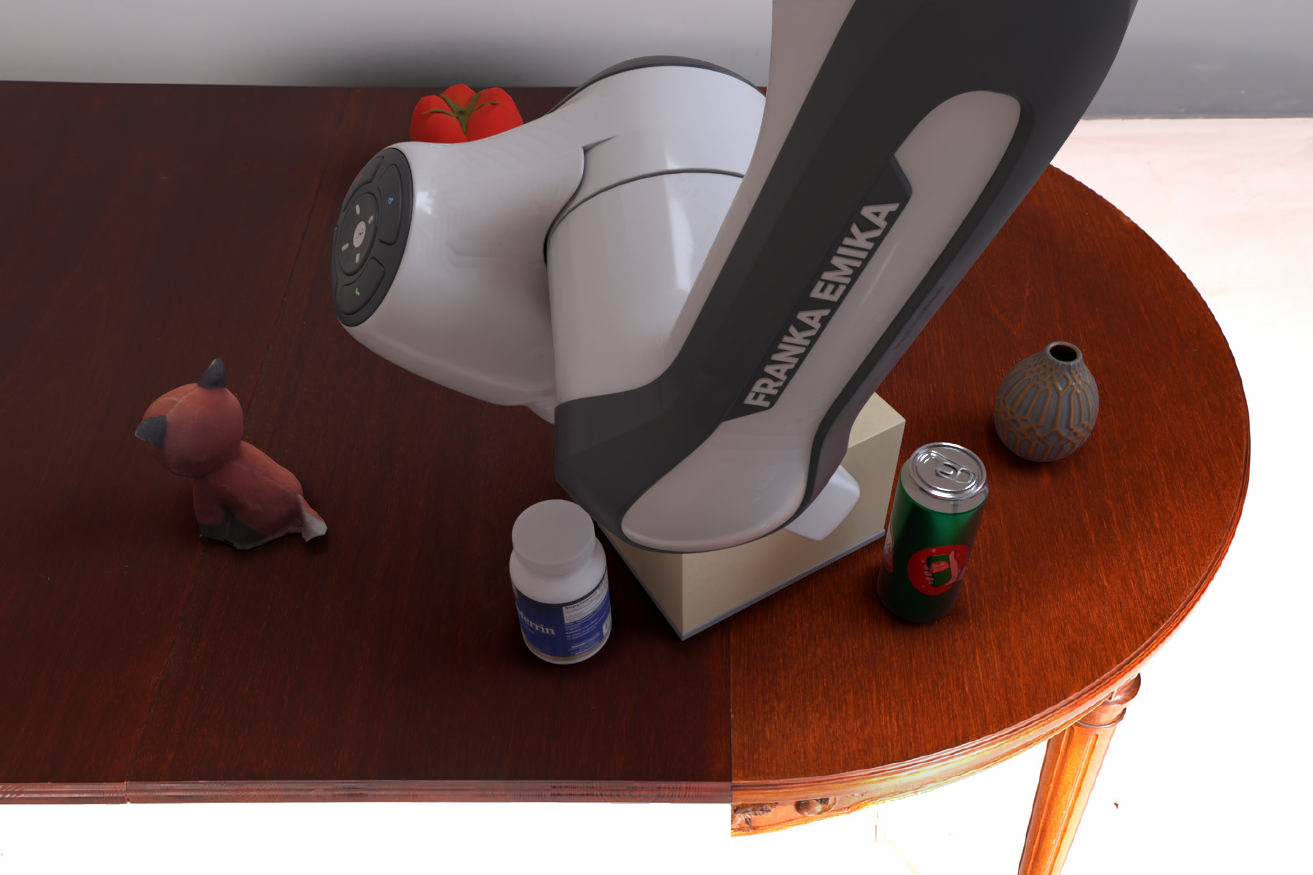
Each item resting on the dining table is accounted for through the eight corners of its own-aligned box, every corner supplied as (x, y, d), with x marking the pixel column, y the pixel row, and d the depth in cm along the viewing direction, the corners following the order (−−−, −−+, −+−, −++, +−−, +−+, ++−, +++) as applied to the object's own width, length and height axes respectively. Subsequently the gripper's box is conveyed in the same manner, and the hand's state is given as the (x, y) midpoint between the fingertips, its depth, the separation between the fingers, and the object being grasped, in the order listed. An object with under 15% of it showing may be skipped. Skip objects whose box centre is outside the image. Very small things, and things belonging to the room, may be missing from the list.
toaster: (884, 535, 71) (908, 419, 63) (682, 641, 65) (680, 528, 58) (788, 436, 78) (799, 320, 70) (597, 524, 72) (585, 409, 64)
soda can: (892, 553, 70) (921, 425, 61) (966, 583, 68) (1005, 456, 60) (863, 607, 67) (888, 481, 58) (938, 640, 65) (976, 515, 57)
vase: (1103, 453, 76) (1140, 362, 70) (1032, 490, 74) (1064, 400, 67) (1034, 398, 80) (1063, 308, 74) (965, 431, 78) (989, 341, 72)
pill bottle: (504, 625, 67) (482, 524, 60) (576, 577, 69) (563, 476, 62) (557, 684, 64) (541, 586, 56) (631, 633, 66) (623, 532, 59)
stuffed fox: (308, 584, 69) (254, 460, 61) (165, 546, 72) (94, 422, 63) (364, 502, 74) (321, 376, 66) (228, 469, 77) (170, 344, 68)
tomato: (540, 153, 107) (531, 69, 101) (512, 219, 99) (500, 132, 93) (440, 147, 109) (424, 64, 102) (404, 212, 100) (385, 126, 94)
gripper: (797, 435, 44) (937, 497, 54) (573, 205, 56) (721, 291, 67) (706, 546, 45) (859, 585, 56) (508, 299, 58) (662, 368, 68)
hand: (782, 423), depth 61 cm, fingers closed
